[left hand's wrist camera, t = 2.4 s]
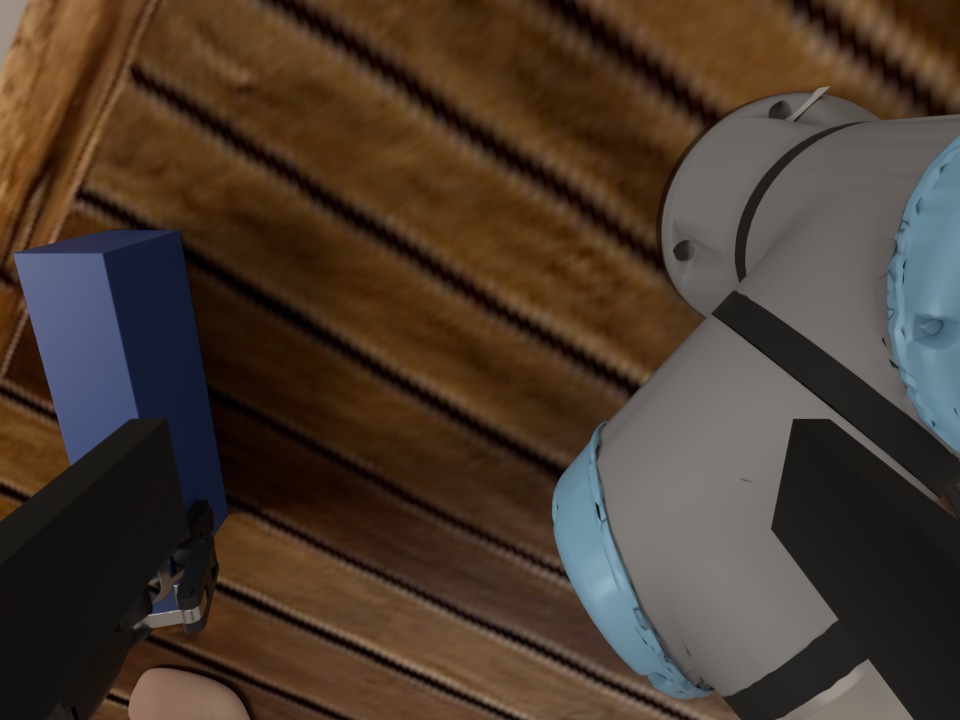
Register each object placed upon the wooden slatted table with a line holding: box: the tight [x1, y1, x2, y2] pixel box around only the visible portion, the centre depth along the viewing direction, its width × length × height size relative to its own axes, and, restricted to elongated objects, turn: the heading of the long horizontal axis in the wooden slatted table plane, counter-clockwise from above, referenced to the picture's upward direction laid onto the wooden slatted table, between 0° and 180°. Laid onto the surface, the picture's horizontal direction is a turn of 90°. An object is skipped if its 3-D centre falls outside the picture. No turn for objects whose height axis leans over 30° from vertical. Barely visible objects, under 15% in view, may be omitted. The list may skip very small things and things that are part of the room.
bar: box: [13, 230, 229, 590], centre depth 40 cm, size 23×5×9 cm, turn 0°
